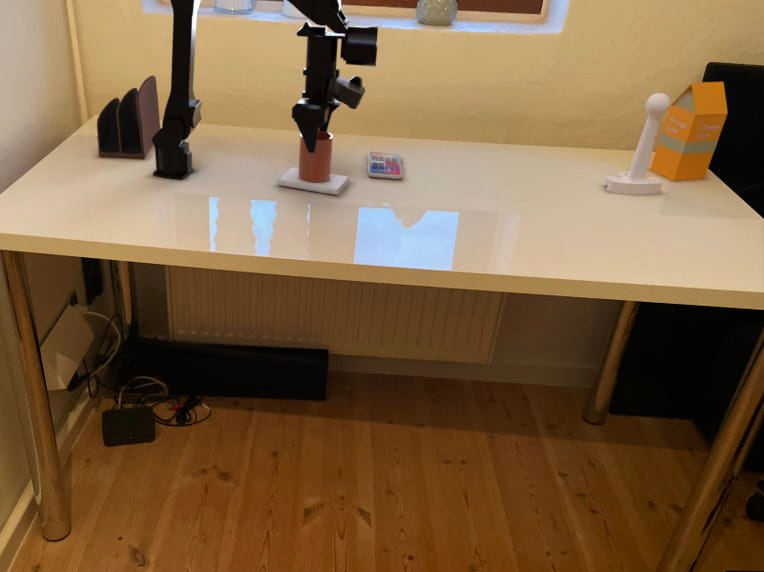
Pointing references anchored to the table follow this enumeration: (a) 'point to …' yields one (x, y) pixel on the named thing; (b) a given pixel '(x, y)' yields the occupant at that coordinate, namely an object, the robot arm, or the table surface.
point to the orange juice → (691, 132)
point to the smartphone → (384, 165)
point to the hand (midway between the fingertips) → (316, 145)
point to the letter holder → (129, 123)
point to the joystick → (642, 154)
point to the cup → (316, 159)
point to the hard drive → (328, 187)
